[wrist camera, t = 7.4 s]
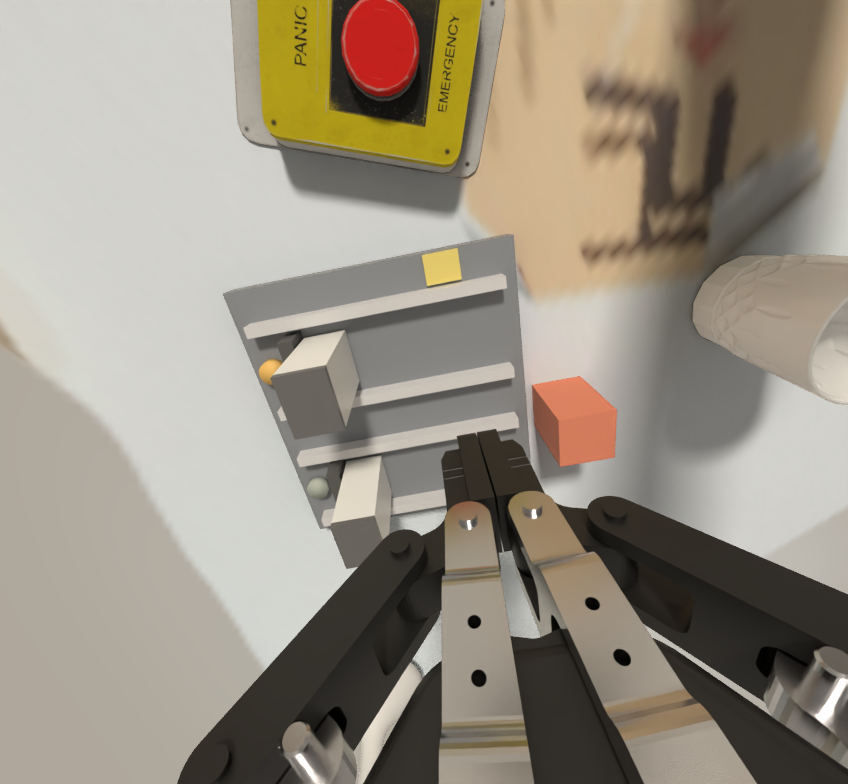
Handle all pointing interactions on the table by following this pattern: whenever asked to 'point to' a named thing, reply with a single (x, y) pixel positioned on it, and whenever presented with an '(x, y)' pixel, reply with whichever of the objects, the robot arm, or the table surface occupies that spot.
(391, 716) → the flower in vase
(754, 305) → the white cup
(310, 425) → the off-white rectangular block
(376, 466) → the block
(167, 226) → the table surface
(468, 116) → the emergency button
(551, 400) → the cap
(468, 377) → the board
